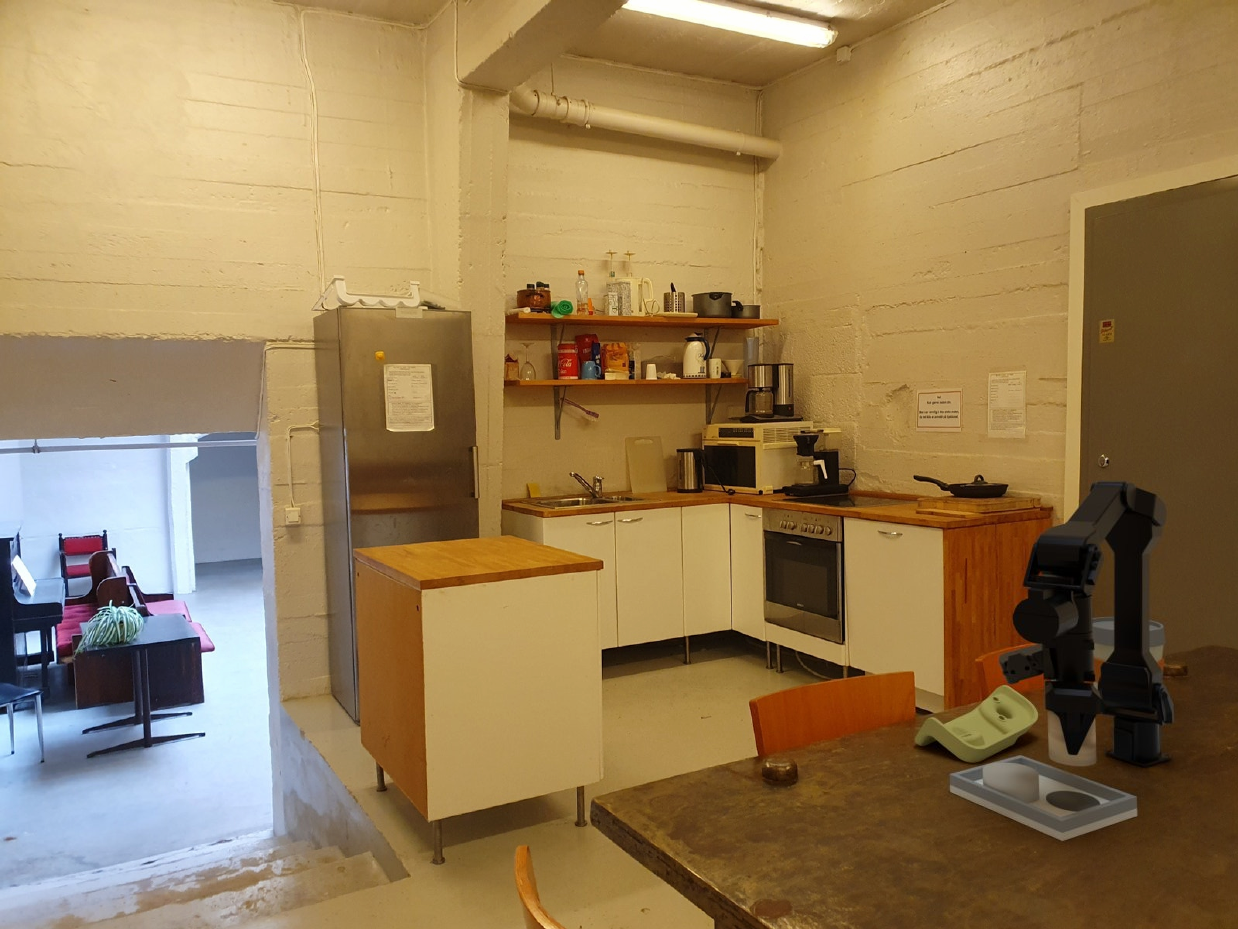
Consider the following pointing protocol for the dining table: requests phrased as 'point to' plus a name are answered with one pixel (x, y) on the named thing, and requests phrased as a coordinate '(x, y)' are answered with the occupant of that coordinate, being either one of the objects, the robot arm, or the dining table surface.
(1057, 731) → the tan paper roll
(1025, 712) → the plastic component
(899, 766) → the dining table surface
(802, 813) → the dining table surface
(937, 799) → the dining table surface
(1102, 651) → the reusable coffee cup
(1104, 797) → the carrier plate
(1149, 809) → the dining table surface
